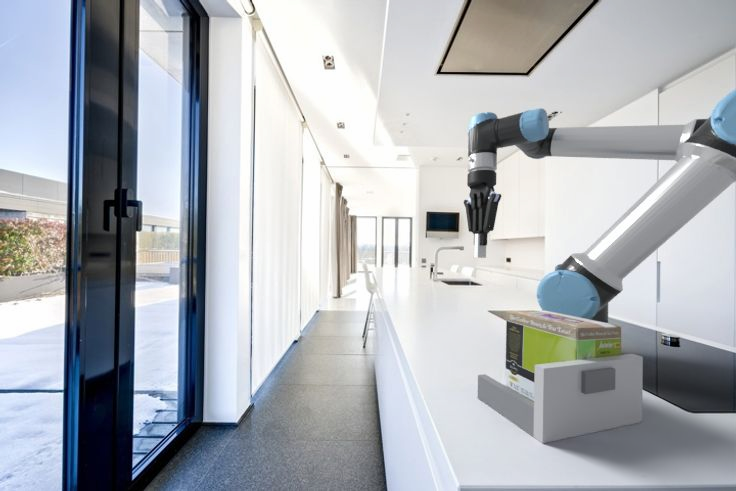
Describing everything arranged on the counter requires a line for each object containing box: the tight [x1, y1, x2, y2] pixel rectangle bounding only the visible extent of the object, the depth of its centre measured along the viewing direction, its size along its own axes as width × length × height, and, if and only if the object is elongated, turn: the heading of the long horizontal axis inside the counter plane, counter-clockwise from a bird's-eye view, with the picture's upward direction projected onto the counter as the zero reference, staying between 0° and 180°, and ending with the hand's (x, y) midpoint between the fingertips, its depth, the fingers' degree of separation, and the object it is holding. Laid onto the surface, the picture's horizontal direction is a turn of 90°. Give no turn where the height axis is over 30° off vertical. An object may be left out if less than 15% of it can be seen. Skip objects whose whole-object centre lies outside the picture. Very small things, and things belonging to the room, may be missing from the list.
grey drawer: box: [477, 353, 644, 444], centre depth 52 cm, size 20×14×10 cm
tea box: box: [504, 309, 622, 402], centre depth 55 cm, size 15×10×15 cm, turn 18°
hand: (480, 257), depth 86 cm, fingers closed
